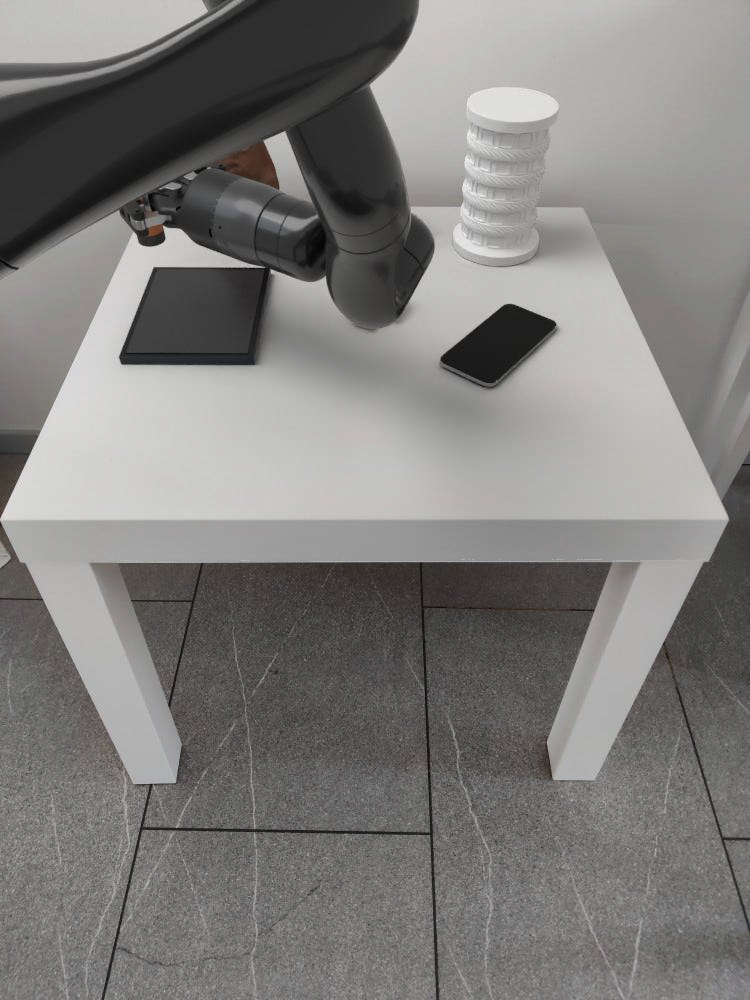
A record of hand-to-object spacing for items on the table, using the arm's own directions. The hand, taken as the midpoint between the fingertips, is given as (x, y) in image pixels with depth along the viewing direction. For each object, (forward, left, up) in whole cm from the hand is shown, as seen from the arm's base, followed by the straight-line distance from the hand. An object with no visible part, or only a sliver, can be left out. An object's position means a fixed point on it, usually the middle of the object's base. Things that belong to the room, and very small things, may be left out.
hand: (118, 176), depth 81 cm
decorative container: (+46, -5, -16) cm, 49 cm away
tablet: (+5, -4, -16) cm, 18 cm away
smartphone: (+34, -25, -16) cm, 45 cm away
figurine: (+17, +12, -16) cm, 26 cm away
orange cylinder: (+2, -2, -6) cm, 7 cm away
